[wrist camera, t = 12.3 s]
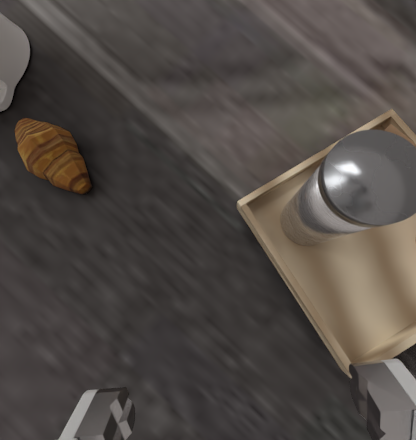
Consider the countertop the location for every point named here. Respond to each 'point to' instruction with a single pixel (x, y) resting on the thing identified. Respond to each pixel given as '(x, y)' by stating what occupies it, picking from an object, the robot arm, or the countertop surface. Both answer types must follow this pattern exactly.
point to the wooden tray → (344, 269)
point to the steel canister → (354, 189)
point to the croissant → (52, 155)
